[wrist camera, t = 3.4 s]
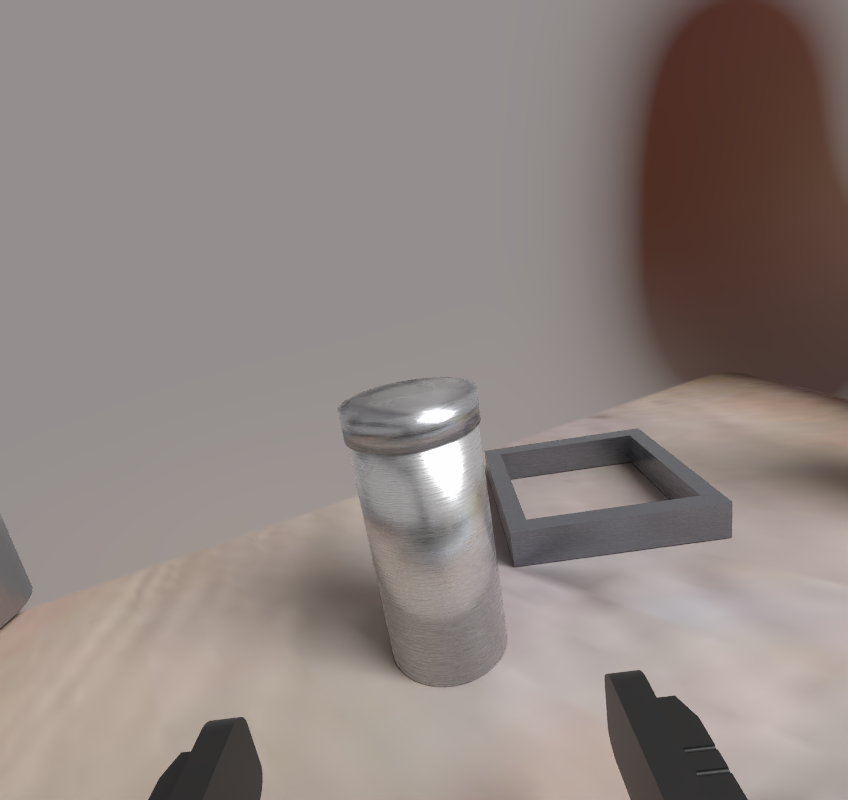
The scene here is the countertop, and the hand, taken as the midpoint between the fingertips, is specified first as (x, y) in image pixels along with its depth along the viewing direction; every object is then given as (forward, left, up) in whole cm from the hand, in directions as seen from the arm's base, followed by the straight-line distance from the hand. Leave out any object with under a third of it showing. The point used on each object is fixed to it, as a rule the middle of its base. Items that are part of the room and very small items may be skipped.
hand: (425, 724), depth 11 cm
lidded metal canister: (-4, +8, -6) cm, 11 cm away
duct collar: (-1, +21, -6) cm, 22 cm away
